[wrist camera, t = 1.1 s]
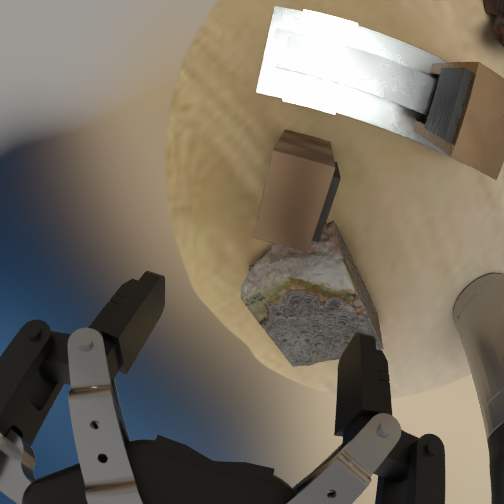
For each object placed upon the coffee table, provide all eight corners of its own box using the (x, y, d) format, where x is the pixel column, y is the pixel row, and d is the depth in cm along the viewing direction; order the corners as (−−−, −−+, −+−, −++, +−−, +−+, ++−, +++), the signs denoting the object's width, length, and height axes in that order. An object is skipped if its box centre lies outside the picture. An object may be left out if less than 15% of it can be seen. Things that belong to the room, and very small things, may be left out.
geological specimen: (298, 374, 35) (225, 290, 29) (302, 336, 40) (240, 252, 33) (384, 353, 30) (334, 251, 24) (379, 313, 35) (332, 213, 29)
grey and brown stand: (489, 86, 18) (549, 99, 10) (464, 165, 22) (513, 205, 15) (276, 6, 19) (255, -27, 11) (257, 94, 24) (228, 103, 16)
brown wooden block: (269, 195, 29) (253, 237, 22) (285, 129, 25) (272, 150, 18) (317, 208, 28) (315, 254, 22) (336, 143, 25) (344, 170, 18)
